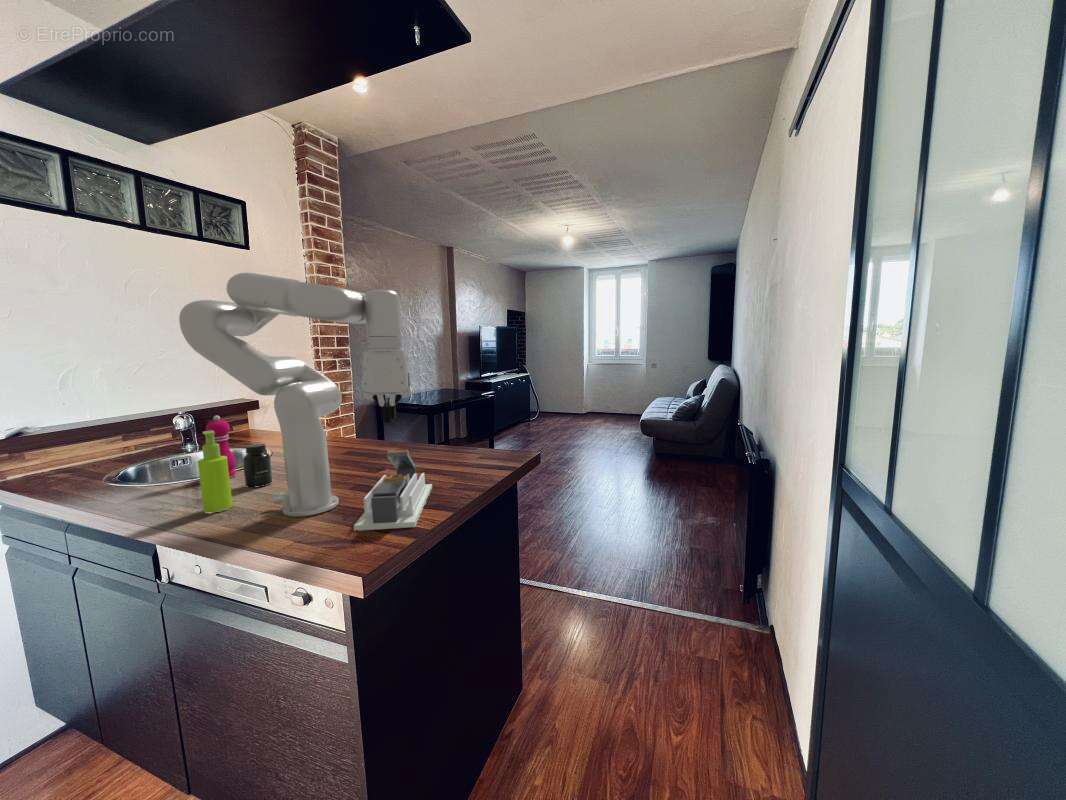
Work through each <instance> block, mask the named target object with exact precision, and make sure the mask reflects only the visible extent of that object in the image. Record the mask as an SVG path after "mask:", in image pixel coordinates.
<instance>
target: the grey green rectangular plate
mask: <svg viewBox="0 0 1066 800" xmlns="http://www.w3.org/2000/svg"><path fill="white" fill-rule="evenodd" d="M386 451H387V452H386V458H387V459H388V460H389V461H390V463H391V464H392V465H393V467H394V469H395V470H397V469H413V468H415V466H416V464H415V462H414V460H413V459H412V457H411V455H410V454H409V453H410V452H409V449H393V450H391V449H390V450H386Z"/></svg>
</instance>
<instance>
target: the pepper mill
mask: <svg viewBox="0 0 1066 800" xmlns="http://www.w3.org/2000/svg"><path fill="white" fill-rule="evenodd" d="M212 419H213V420H211V421H209V422H208V423H207V425H206V427H205V431H211V430H213V431H214V432H215V435H214V441H215V443H217V444H219V447H220V455H221V456H226V457H227V461H228V470H229V477H230V476H233V475H235V474H236V475H237V472H236V469H234V468H235V466H237V459H236V458H235V456H234V454H233V453H232V451H231V449H230V446H229V441H228V440H229V439H230V437H229V434H228V433H229V432H230V430H231V429H230V428H231V427H230V424H229V423H228V422H227V421H225V420H221V417H220V416H219V415H214V416H213V417H212Z"/></svg>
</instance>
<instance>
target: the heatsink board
mask: <svg viewBox="0 0 1066 800" xmlns="http://www.w3.org/2000/svg"><path fill="white" fill-rule="evenodd" d="M425 475H426V474H425V472H422V473H421V474H420V476H419V478H418V473H417V465H415V468H413V469H396V476H406V483H405V484H404V486H403V487H402V489H401V490H400V492H399V494H398V495H397V497H396V495H394V496H376V497H373V493H374V492H375V491H376V489H377V488H378V487H379V486H380V484H381V483H382V482H383V478H384V477H388V476H387V474H384V475H383V476H382V477H381V478H380V479H379V481H377V483H375V485H374V486H373V487H372V488H371V490H370V491H368V493H367V494H366V495H365V497H363V507H364V510H363V511H364V512H363V513H362V514H361V516H360V517H359V518H358V520H357V521H356V522H355V523H354V524H353V531H354V532H356V530H358V531H371V530H372V531H374V530H386V529H387V530H389V529H404V528H416V525H417V523H418V522H417V521H419V519H420V517H421V515H422V513H423V510H424V508H423V507H425V506H424V505H426V503H427V501H428V499H427V498H429V497H428V496H430V495H431V492H432V490H433V483H428V484H427V483H426V478H425V477H426V476H425ZM391 476H395V474H391V475H390V476H389V477H391ZM431 489H432V490H431ZM430 491H431V492H430ZM426 500H427V501H426ZM420 514H421V515H420Z"/></svg>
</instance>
